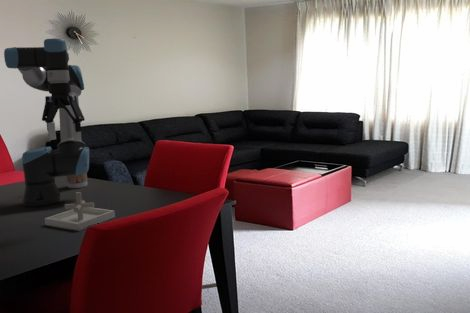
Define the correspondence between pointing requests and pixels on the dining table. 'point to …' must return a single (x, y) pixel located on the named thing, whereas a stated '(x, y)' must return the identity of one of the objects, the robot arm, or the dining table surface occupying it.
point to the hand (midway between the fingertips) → (64, 140)
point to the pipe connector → (79, 205)
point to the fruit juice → (77, 181)
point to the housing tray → (71, 220)
